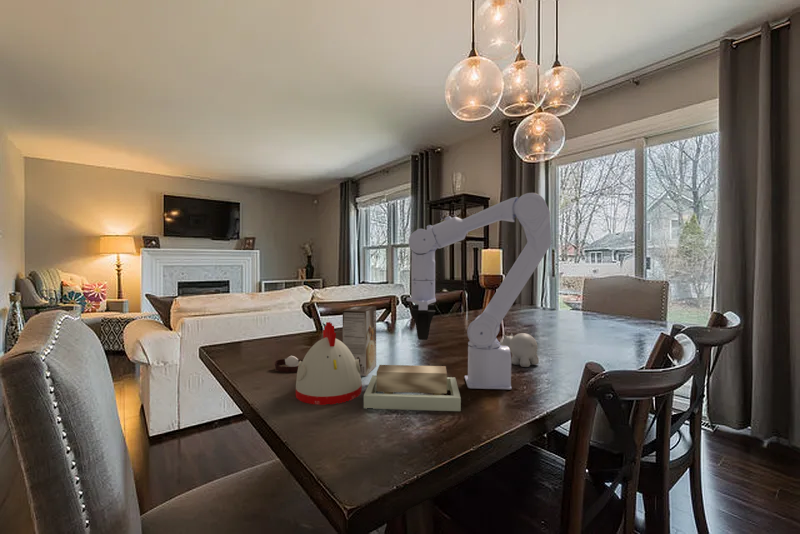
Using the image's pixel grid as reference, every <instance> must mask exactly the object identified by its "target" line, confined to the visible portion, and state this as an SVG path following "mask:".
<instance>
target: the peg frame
mask: <svg viewBox="0 0 800 534" xmlns="http://www.w3.org/2000/svg"><path fill="white" fill-rule="evenodd" d="M447 391H450V395H448V394H446V395H444V394H443V393H432V394H410V393H409V394H407V393H405V394H404V393H402V394H401V393H394V392H383V393H377V374H376V375H372V376H371V378H370V381H369V383H368V385H367V388H366V389H365V392H364V393H363V409H367V408H373V409H372V410H379V409H380V410H403V411H410V410H411V411H435V412H437V411H439V412H461V411H462V410H461V409H462V408H461V406H462V405H461V403H462V398H461V393H460V390H459V386H458V382H457V379H456V377H454V376H453V377H452V376H450V377H449V376H447Z"/></svg>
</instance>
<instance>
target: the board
mask: <svg viewBox="0 0 800 534" xmlns="http://www.w3.org/2000/svg"><path fill="white" fill-rule="evenodd" d="M376 376H377V390H376V393H377V392H383V393H384V392H393V393H415V394H419V393H420V394H422V393H423V394H433V393H442V394H447V393H448V390H447V377H448V372H447V366H446V365H443V366H442V365H410V364H409V365H406V364H405V365H404V364H402V365H401V364H379V366H378V367H377V370H376Z"/></svg>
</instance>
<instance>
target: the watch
mask: <svg viewBox="0 0 800 534" xmlns="http://www.w3.org/2000/svg"><path fill="white" fill-rule="evenodd" d="M299 361H303V359H299V358H297V357H296V356H294V355H290V356H288V357H286V358H282V359H278V360H275V362H274V366H275V370H276V371H277V372H280V373H297V371H298V365H299ZM284 365H285V366H284Z"/></svg>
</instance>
